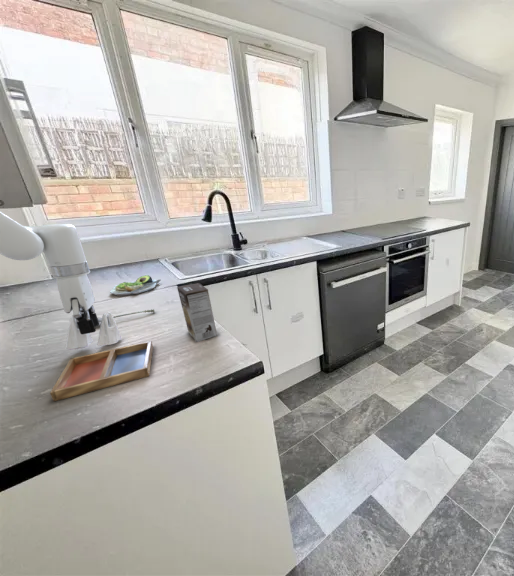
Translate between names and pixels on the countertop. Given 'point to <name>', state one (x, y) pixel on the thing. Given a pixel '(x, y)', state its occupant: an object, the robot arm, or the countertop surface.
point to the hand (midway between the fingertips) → (90, 329)
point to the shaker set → (83, 340)
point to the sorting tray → (103, 370)
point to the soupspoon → (129, 314)
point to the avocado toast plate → (134, 286)
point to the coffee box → (197, 311)
